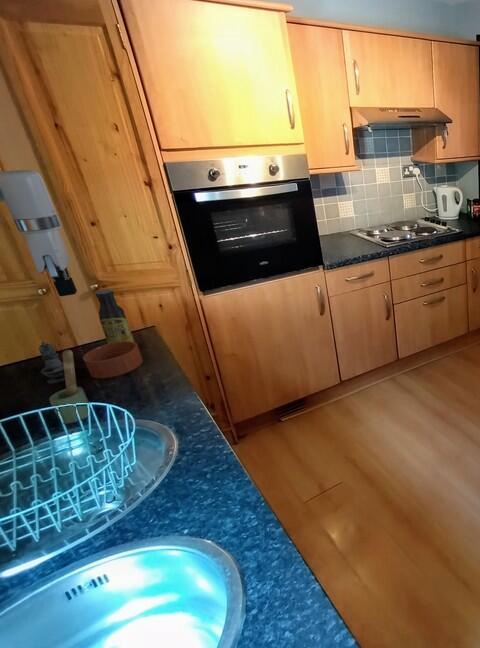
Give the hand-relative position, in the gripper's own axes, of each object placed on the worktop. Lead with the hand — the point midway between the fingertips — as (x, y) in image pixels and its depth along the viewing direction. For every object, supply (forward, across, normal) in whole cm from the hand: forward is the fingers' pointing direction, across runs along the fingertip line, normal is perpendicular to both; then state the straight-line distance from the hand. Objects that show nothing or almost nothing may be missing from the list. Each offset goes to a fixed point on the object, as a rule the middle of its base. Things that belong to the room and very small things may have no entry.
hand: (68, 293), depth 116 cm
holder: (+27, +16, -4) cm, 32 cm away
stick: (+27, +16, -5) cm, 31 cm away
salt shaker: (+27, -10, -11) cm, 31 cm away
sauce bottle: (+27, -22, +3) cm, 35 cm away
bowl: (+27, -8, +2) cm, 28 cm away
